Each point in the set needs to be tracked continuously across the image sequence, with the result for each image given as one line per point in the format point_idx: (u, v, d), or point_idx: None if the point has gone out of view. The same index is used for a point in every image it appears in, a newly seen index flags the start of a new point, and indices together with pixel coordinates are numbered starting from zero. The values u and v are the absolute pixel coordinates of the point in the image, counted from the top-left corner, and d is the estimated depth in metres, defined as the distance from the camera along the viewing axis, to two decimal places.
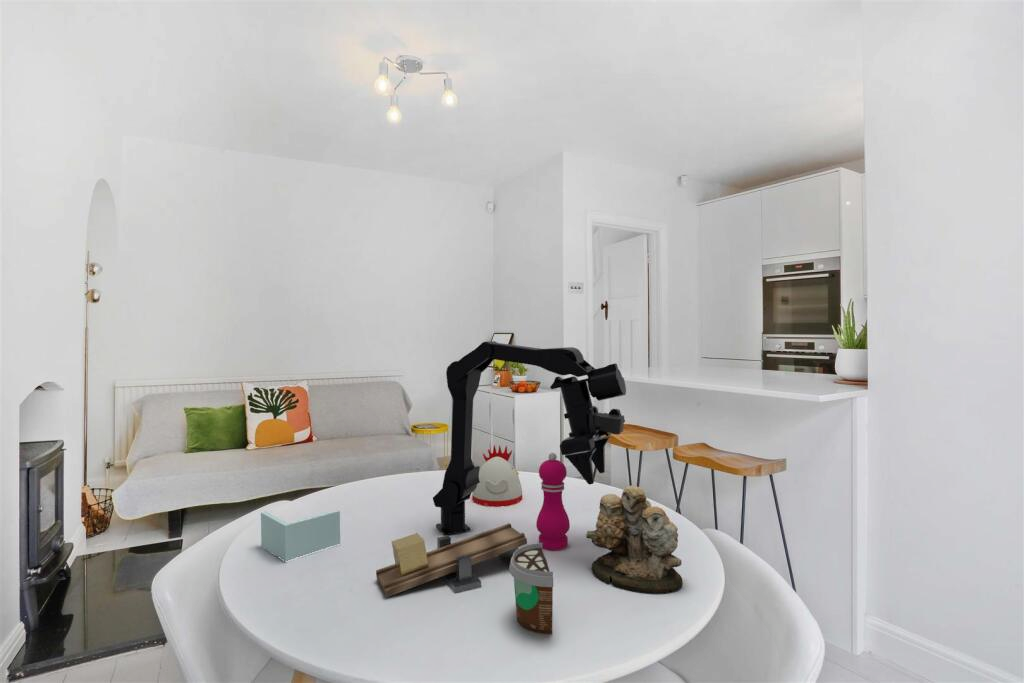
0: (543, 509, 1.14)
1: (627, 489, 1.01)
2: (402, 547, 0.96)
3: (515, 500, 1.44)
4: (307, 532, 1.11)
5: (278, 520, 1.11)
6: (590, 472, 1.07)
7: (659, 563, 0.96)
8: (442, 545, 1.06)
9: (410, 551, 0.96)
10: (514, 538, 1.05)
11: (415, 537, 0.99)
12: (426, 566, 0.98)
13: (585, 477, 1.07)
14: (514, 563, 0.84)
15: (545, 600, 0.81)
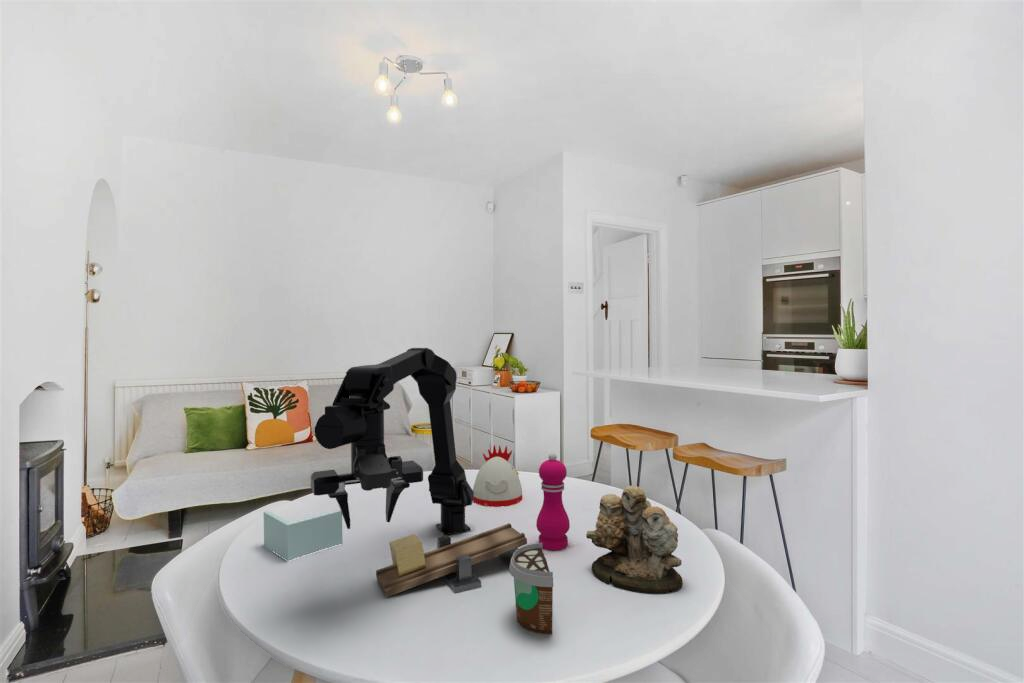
0: (543, 509, 1.14)
1: (627, 489, 1.01)
2: (400, 548, 0.96)
3: (515, 500, 1.44)
4: (309, 532, 1.11)
5: (280, 519, 1.11)
6: (343, 516, 0.92)
7: (659, 562, 0.96)
8: (442, 545, 1.06)
9: (407, 552, 0.96)
10: (514, 538, 1.05)
11: (412, 538, 0.99)
12: (424, 567, 0.98)
13: None
14: (514, 563, 0.84)
15: (545, 600, 0.81)
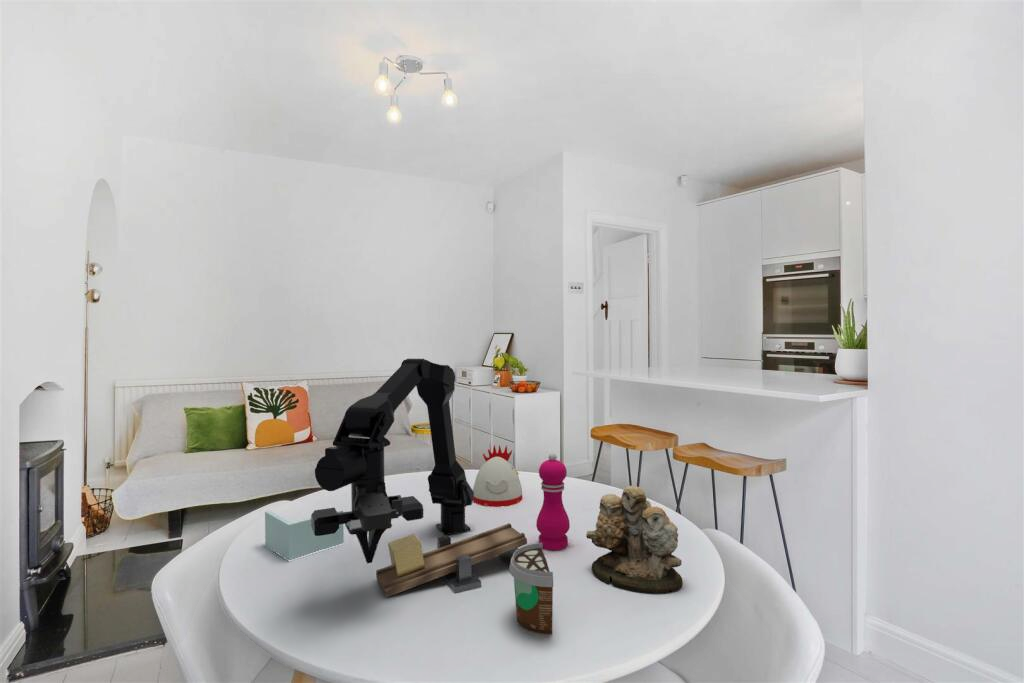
0: (543, 509, 1.14)
1: (627, 489, 1.01)
2: (399, 548, 0.96)
3: (515, 500, 1.44)
4: (311, 531, 1.12)
5: (282, 519, 1.11)
6: (363, 551, 0.94)
7: (659, 563, 0.96)
8: (442, 545, 1.06)
9: (406, 552, 0.96)
10: (514, 538, 1.05)
11: (411, 538, 0.99)
12: (422, 567, 0.97)
13: (363, 553, 0.95)
14: (514, 563, 0.84)
15: (545, 600, 0.81)
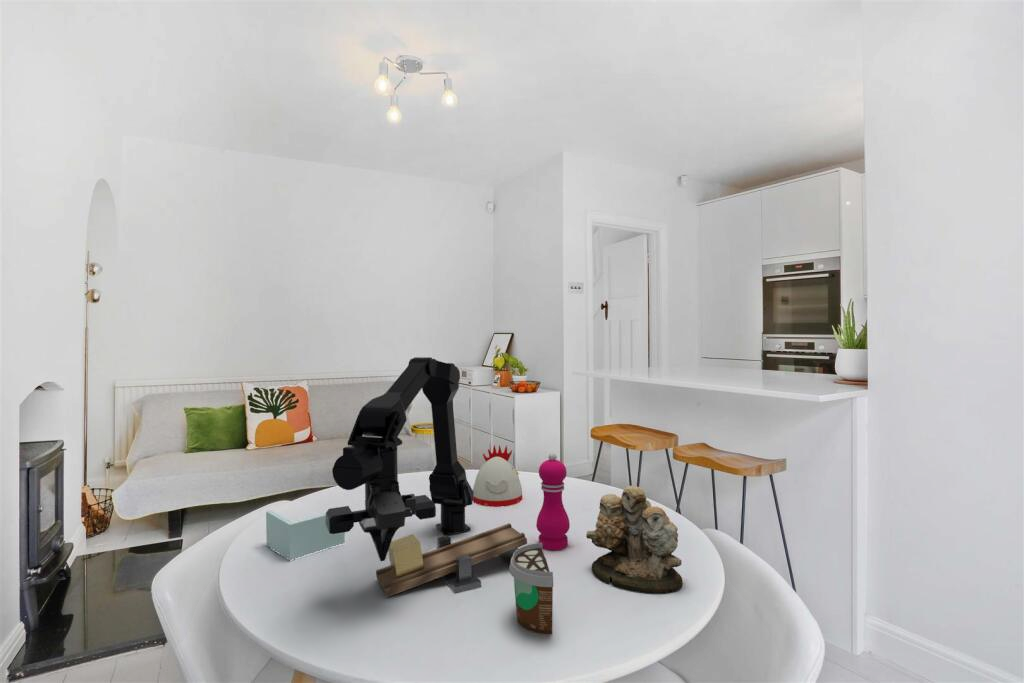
0: (543, 509, 1.14)
1: (627, 489, 1.01)
2: (398, 548, 0.96)
3: (515, 500, 1.44)
4: (312, 531, 1.12)
5: (283, 519, 1.11)
6: (377, 549, 0.95)
7: (659, 563, 0.96)
8: (442, 545, 1.06)
9: (405, 552, 0.96)
10: (514, 538, 1.05)
11: (410, 539, 0.99)
12: (422, 568, 0.97)
13: None
14: (514, 563, 0.84)
15: (545, 600, 0.81)
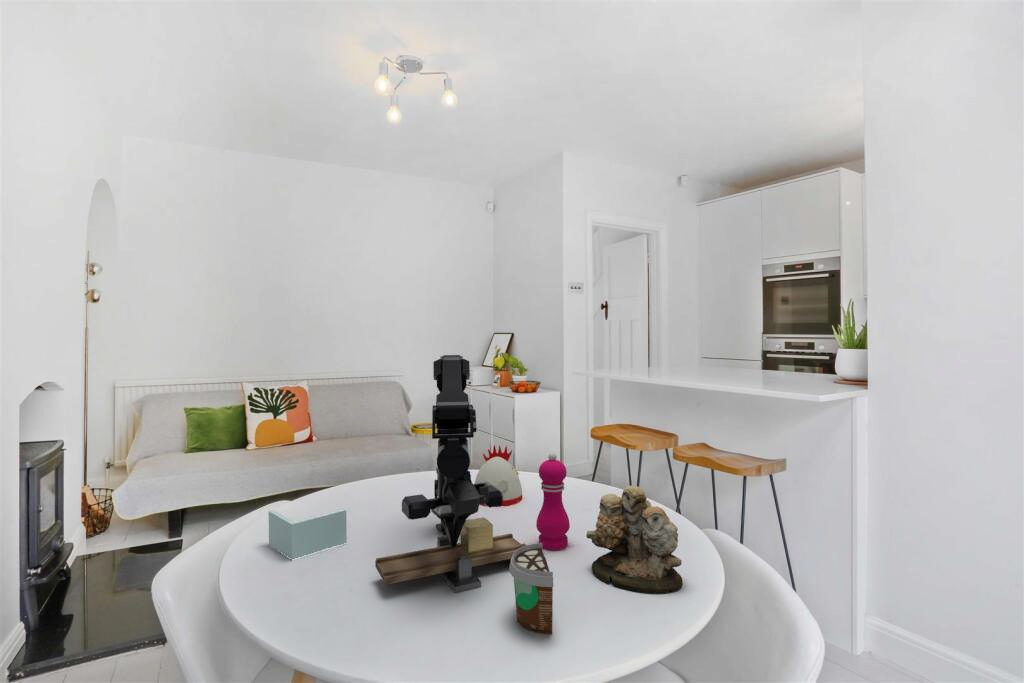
0: (543, 509, 1.14)
1: (627, 489, 1.01)
2: (473, 526, 1.02)
3: (515, 500, 1.44)
4: (314, 531, 1.12)
5: (285, 519, 1.12)
6: (449, 535, 1.01)
7: (659, 562, 0.96)
8: (442, 545, 1.06)
9: (479, 531, 1.02)
10: (515, 547, 1.05)
11: (482, 520, 1.05)
12: (491, 549, 1.03)
13: (448, 537, 1.02)
14: (514, 563, 0.84)
15: (545, 600, 0.81)
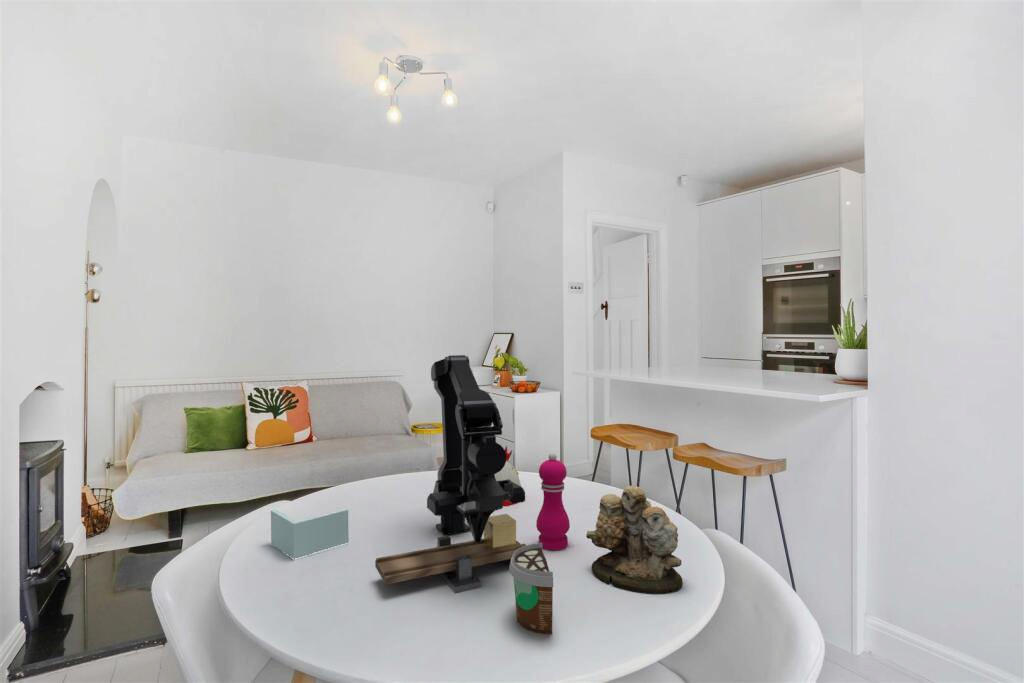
0: (543, 509, 1.14)
1: (627, 489, 1.01)
2: (497, 522, 1.04)
3: None
4: (316, 530, 1.12)
5: (287, 518, 1.12)
6: (473, 531, 1.03)
7: (659, 563, 0.96)
8: (442, 545, 1.06)
9: (503, 527, 1.04)
10: (515, 547, 1.05)
11: (506, 517, 1.07)
12: (514, 545, 1.05)
13: None
14: (514, 563, 0.84)
15: (545, 600, 0.81)
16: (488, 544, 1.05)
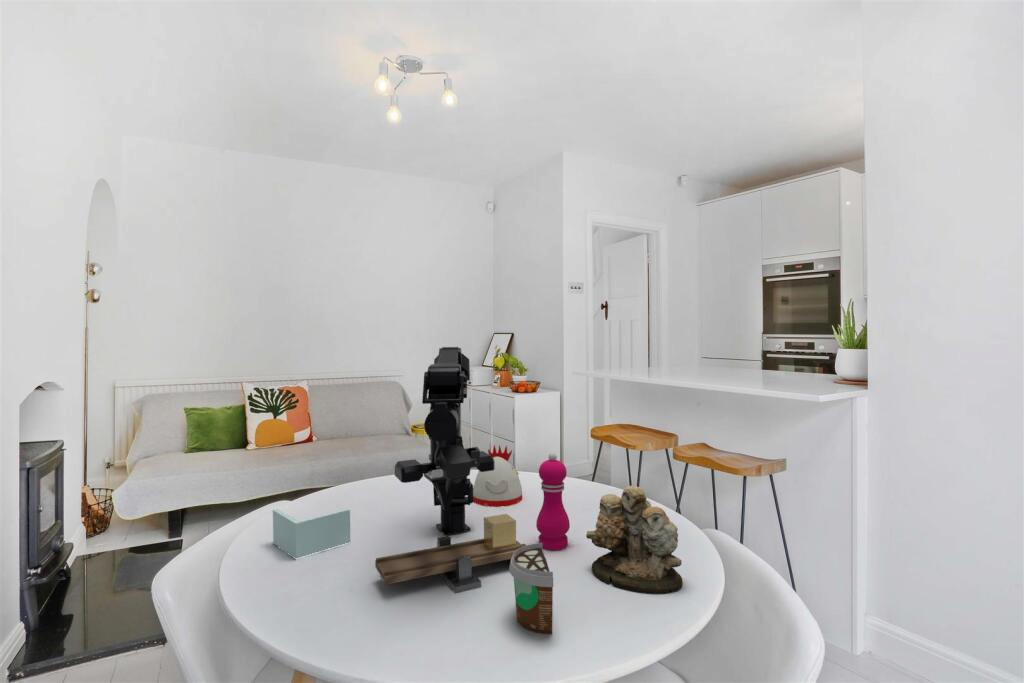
0: (543, 509, 1.14)
1: (627, 489, 1.01)
2: (497, 522, 1.04)
3: (515, 500, 1.44)
4: (317, 530, 1.12)
5: (289, 518, 1.12)
6: (441, 499, 1.03)
7: (659, 563, 0.96)
8: (442, 545, 1.06)
9: (503, 527, 1.04)
10: (515, 547, 1.05)
11: (505, 517, 1.07)
12: (514, 545, 1.05)
13: (440, 501, 1.04)
14: (514, 563, 0.84)
15: (545, 600, 0.81)
16: (488, 544, 1.05)
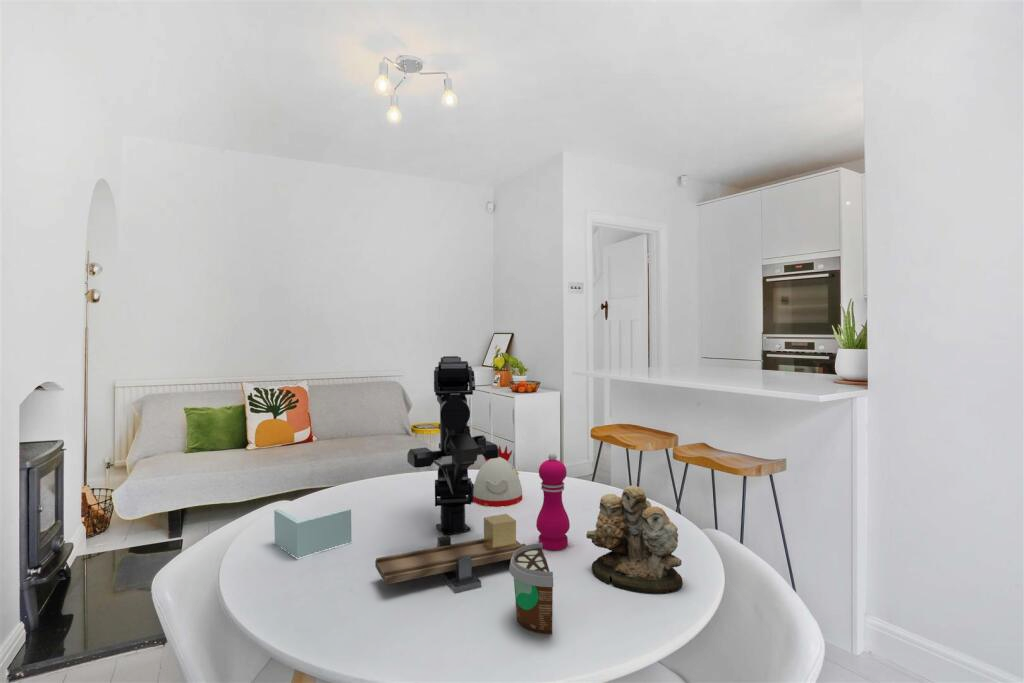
0: (543, 509, 1.14)
1: (627, 489, 1.01)
2: (497, 522, 1.04)
3: (515, 500, 1.44)
4: (319, 530, 1.12)
5: (290, 518, 1.12)
6: (450, 484, 1.12)
7: (659, 562, 0.96)
8: (442, 545, 1.06)
9: (503, 527, 1.04)
10: (515, 547, 1.05)
11: (505, 517, 1.07)
12: (514, 545, 1.05)
13: (449, 486, 1.13)
14: (514, 563, 0.84)
15: (545, 600, 0.81)
16: (488, 544, 1.05)
